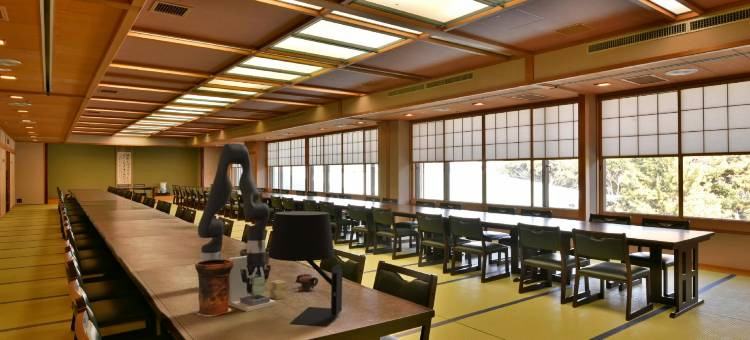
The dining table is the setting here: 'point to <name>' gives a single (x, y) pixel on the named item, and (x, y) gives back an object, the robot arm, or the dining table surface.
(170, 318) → the dining table surface
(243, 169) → the robot arm
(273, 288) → the mustard block
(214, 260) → the vessel
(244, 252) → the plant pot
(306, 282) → the pottery mug
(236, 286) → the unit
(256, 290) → the sage block
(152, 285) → the dining table surface
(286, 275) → the dining table surface
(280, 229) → the table lamp
